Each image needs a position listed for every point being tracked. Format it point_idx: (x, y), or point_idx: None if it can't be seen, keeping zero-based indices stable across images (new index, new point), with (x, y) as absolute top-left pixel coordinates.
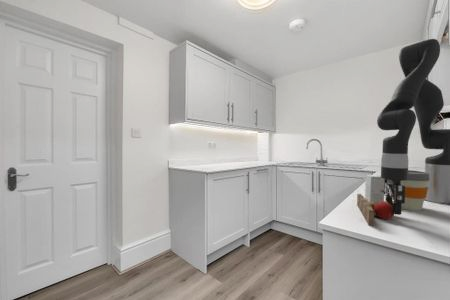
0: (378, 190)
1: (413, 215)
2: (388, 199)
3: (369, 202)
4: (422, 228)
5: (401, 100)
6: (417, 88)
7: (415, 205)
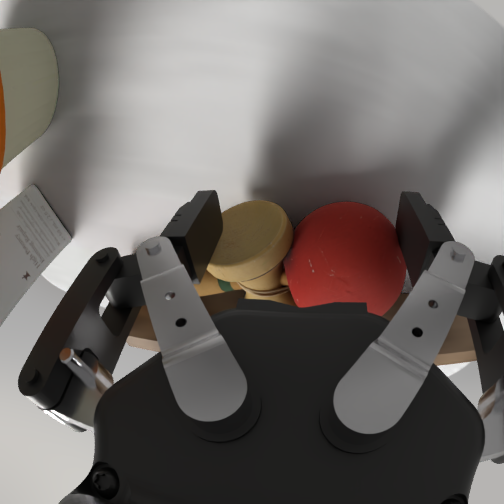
0: (2, 251)
1: (164, 45)
2: (200, 257)
3: None
4: (456, 82)
5: None
6: None
7: (30, 51)
